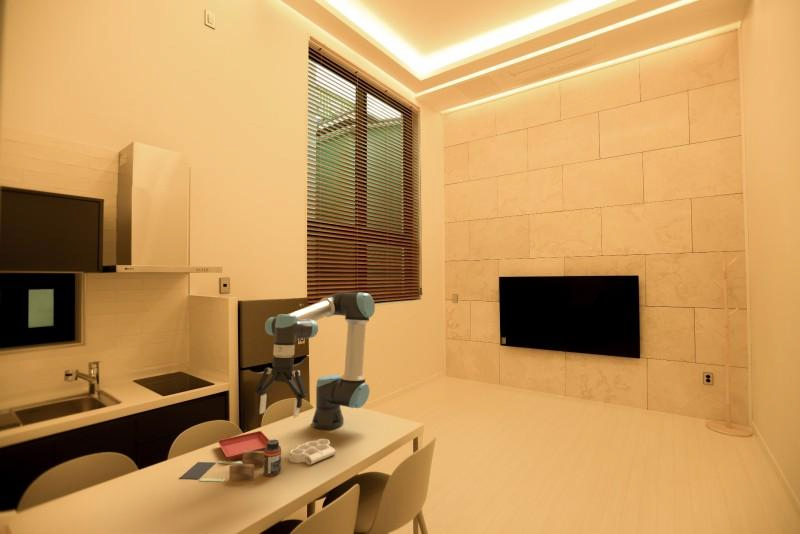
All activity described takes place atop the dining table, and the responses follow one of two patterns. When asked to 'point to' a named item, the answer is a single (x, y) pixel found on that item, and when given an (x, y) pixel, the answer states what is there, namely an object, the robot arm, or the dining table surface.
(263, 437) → the plant saucer
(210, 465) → the mat
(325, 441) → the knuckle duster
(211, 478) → the strips
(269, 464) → the supplement bottle
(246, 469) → the tunnel
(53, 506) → the dining table surface
